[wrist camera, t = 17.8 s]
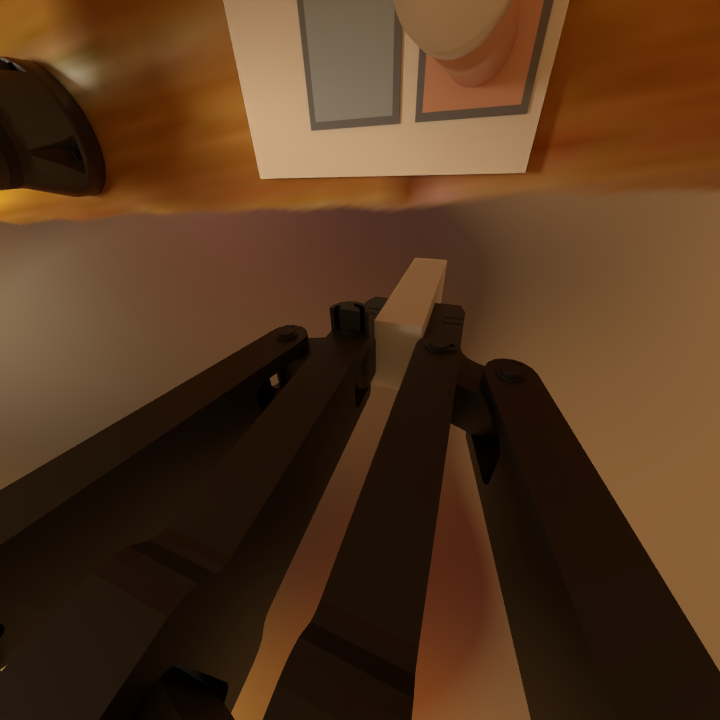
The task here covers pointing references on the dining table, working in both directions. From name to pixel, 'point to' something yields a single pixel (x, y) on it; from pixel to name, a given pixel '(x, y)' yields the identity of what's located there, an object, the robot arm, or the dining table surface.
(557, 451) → the robot arm
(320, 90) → the picture board
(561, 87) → the dining table surface
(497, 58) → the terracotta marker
